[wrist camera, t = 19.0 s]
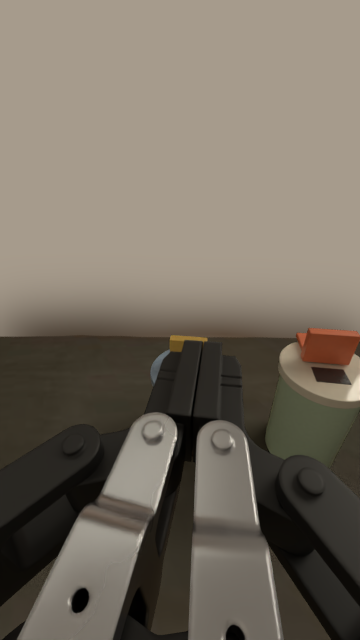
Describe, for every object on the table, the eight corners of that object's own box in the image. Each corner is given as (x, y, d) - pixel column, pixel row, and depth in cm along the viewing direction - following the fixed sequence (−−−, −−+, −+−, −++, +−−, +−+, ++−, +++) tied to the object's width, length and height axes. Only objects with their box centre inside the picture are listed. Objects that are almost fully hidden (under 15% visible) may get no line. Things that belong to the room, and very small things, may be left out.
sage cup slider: (333, 338, 29) (343, 312, 27) (349, 365, 25) (361, 336, 23) (293, 335, 30) (299, 309, 28) (302, 361, 26) (310, 333, 24)
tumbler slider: (208, 344, 32) (209, 321, 30) (205, 368, 29) (206, 343, 27) (177, 342, 33) (176, 318, 31) (170, 364, 29) (169, 340, 27)
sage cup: (324, 418, 35) (355, 343, 28) (348, 486, 28) (400, 406, 21) (258, 411, 37) (274, 337, 30) (265, 474, 29) (288, 394, 22)
